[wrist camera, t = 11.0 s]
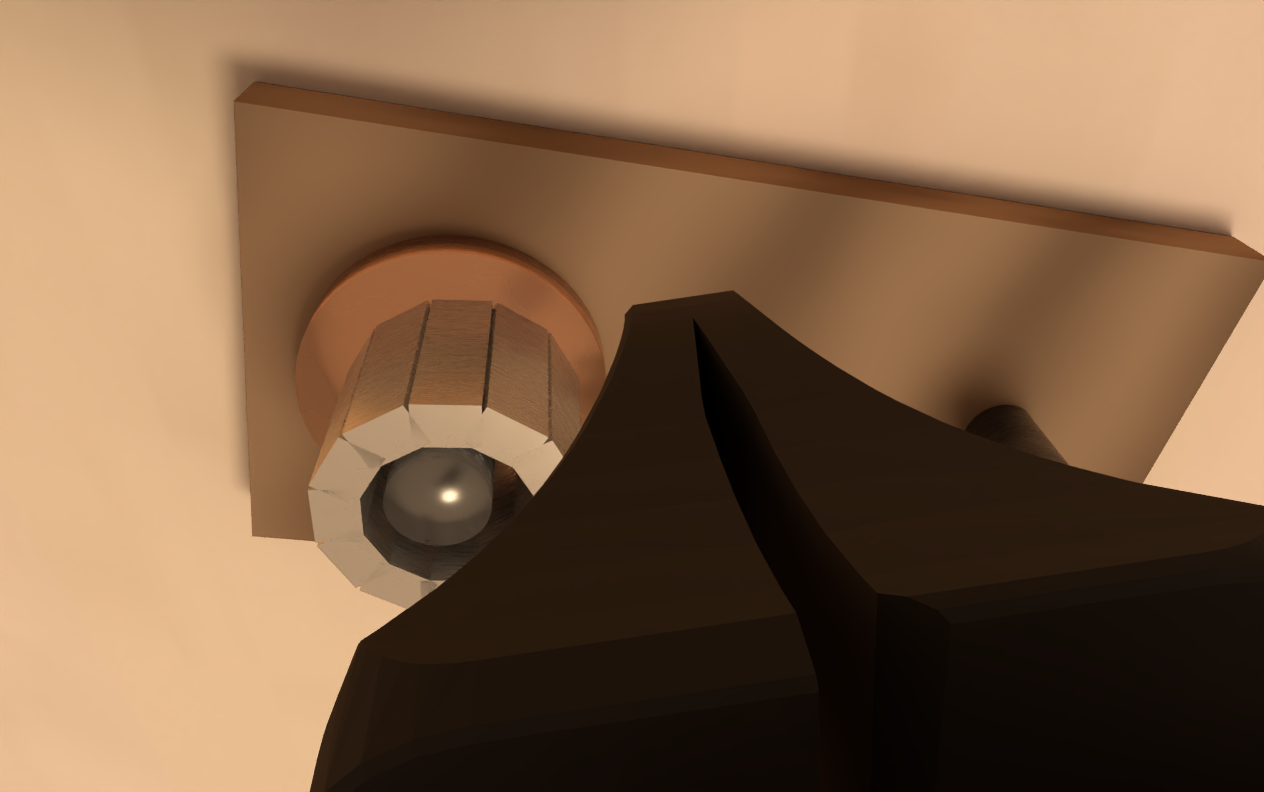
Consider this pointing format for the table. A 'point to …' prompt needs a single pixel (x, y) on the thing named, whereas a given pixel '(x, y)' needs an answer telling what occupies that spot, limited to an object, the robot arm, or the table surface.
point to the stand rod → (1014, 431)
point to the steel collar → (438, 433)
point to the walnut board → (734, 270)
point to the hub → (424, 270)
